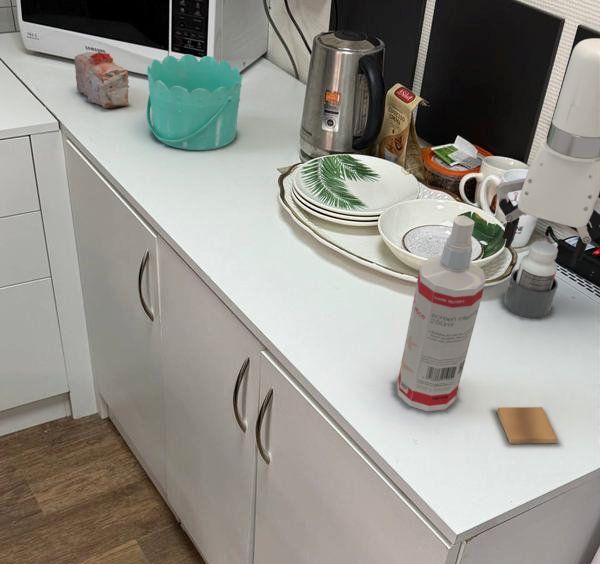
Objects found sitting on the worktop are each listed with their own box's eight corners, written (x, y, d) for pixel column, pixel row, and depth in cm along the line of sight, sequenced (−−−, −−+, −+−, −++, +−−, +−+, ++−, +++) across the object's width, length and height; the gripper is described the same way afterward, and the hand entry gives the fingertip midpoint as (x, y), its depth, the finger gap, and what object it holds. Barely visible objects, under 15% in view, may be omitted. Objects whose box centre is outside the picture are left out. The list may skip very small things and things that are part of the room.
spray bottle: (466, 400, 105) (513, 228, 89) (423, 418, 102) (463, 242, 86) (428, 367, 110) (466, 199, 94) (385, 383, 107) (416, 211, 91)
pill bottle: (551, 312, 123) (569, 256, 116) (518, 314, 121) (535, 257, 115) (535, 293, 127) (552, 237, 120) (504, 295, 125) (519, 239, 119)
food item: (135, 107, 174) (132, 60, 168) (102, 113, 170) (98, 65, 163) (103, 87, 182) (99, 41, 175) (71, 93, 177) (66, 46, 171)
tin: (541, 293, 127) (549, 268, 124) (555, 318, 122) (564, 293, 119) (498, 292, 126) (505, 267, 124) (511, 317, 121) (518, 292, 118)
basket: (256, 144, 164) (259, 79, 155) (176, 160, 155) (174, 92, 147) (210, 111, 175) (210, 49, 167) (133, 124, 167) (129, 60, 158)
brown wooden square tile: (540, 411, 105) (542, 407, 104) (556, 443, 100) (558, 438, 99) (496, 411, 104) (497, 407, 103) (509, 443, 99) (511, 439, 99)
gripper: (645, 147, 108) (603, 258, 119) (519, 116, 112) (489, 226, 123) (638, 166, 102) (595, 281, 113) (506, 133, 107) (477, 247, 118)
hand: (540, 253), depth 118 cm, fingers open, 9 cm apart
